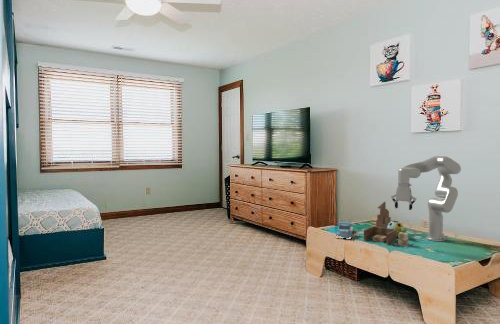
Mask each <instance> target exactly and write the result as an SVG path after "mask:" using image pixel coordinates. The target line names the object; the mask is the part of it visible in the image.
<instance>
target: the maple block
mask: <svg viewBox="0 0 500 324" xmlns="http://www.w3.org/2000/svg"><path fill="white" fill-rule="evenodd" d="M397 238H398V240H397V242H398V244H400V245H407V244H408V243H409V233H408V232H406V233H404V232H400V233H399V236H397Z"/></svg>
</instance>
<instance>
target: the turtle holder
mask: <svg viewBox="0 0 500 324" xmlns="http://www.w3.org/2000/svg"><path fill="white" fill-rule="evenodd" d="M391 223H392V224H391ZM387 228H389V229H396V230H397V237H398V236H399V233H400V232H404V233H407V228H406V227H405V226H404V224H403V223H402V222H401V221H399V220H392V221H391V222H390V223H389V224H388V226H387Z"/></svg>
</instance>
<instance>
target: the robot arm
mask: <svg viewBox="0 0 500 324" xmlns="http://www.w3.org/2000/svg"><path fill="white" fill-rule="evenodd" d="M435 169H437V171H438V174H439V179H438V184H437V186H436V188H435V191H434V195H435V196H436V197H432V198H429V199H428V201H427V208H428V235H427V236H426V240H428V241H432V242H444V241H445V240H449V239H450V236H448V235H445V234H444V233H443V232H444V231H443V230H444V229H443V228H444V215H443V213H447V214H448V213H450V212H451V211H452V210H453V208H454V207H455V204H456V202H457V198H458V195H459V191H458V189H457V188H456V187H455V186H452V184H453V183H452V182H453V180H452V177H451V175H458V174H459V173H460V172H461V169H462V167H461V165H460V164H459V163H458V162H457V161H455V160H453V159H452V158H450V157H448V156H445V155H444V156H442V155H441V156H440V155H436V156H432V157H430V158H427V159H425V160H423V161H419V162H414V163H410V164H407V165H405V166H403V167H402V168H401V167H400V168H399V169H398V170H397V172H398V173H397V174H398V175H397V186H396V191H395V194H393V195H391V196H390V197H391V199H392V201H393V203H394V208H395V209H398V208H399V202H408V210H409V211H411V210H413V204H415V203H416V200H417V197H414V196H413V195H412V193H413V192H412V189H411V187H412V184H411V183H410V179H417V178H419V177H420V176H421V175H422V173H429V172H431V171H433V170H435Z"/></svg>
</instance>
